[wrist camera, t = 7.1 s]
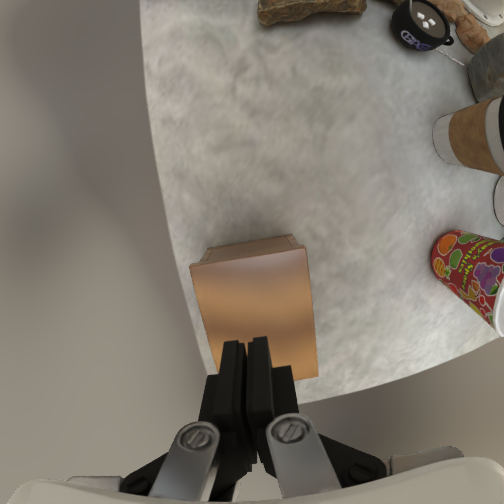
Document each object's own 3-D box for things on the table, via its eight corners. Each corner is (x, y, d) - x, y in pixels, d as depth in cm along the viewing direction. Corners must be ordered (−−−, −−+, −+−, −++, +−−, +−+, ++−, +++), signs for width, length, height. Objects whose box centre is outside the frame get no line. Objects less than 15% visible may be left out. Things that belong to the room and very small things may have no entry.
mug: (380, 42, 24) (410, 16, 17) (384, 5, 22) (410, -23, 15) (461, 85, 25) (499, 74, 17) (462, 47, 23) (496, 32, 16)
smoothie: (445, 207, 29) (581, 252, 10) (478, 245, 30) (591, 300, 11) (410, 265, 31) (529, 355, 12) (446, 297, 32) (547, 381, 13)
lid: (190, 263, 23) (188, 266, 22) (304, 244, 22) (305, 247, 22) (223, 385, 26) (223, 390, 25) (317, 371, 25) (318, 376, 25)
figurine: (522, 97, 22) (422, -16, 18) (503, 98, 25) (407, -4, 22) (530, 68, 20) (437, -37, 16) (513, 70, 24) (423, -26, 20)
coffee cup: (436, 183, 28) (533, 200, 14) (413, 113, 26) (507, 89, 12) (480, 165, 27) (569, 174, 13) (460, 101, 25) (548, 83, 11)
